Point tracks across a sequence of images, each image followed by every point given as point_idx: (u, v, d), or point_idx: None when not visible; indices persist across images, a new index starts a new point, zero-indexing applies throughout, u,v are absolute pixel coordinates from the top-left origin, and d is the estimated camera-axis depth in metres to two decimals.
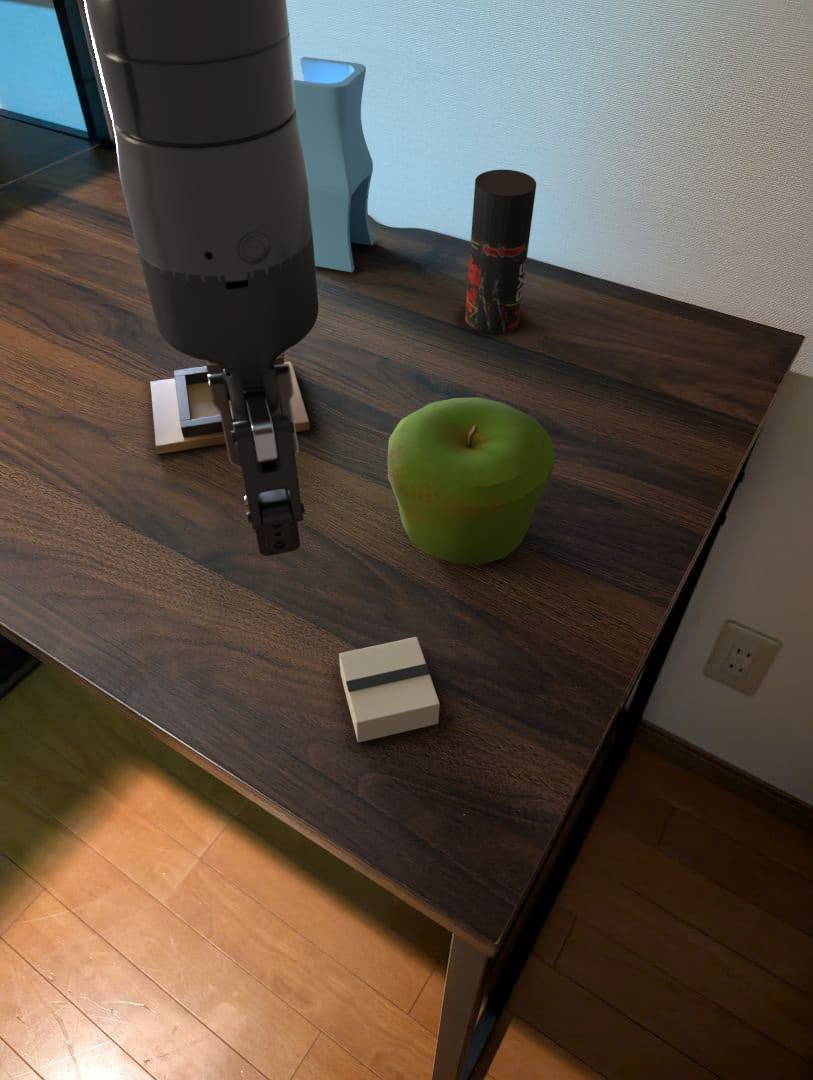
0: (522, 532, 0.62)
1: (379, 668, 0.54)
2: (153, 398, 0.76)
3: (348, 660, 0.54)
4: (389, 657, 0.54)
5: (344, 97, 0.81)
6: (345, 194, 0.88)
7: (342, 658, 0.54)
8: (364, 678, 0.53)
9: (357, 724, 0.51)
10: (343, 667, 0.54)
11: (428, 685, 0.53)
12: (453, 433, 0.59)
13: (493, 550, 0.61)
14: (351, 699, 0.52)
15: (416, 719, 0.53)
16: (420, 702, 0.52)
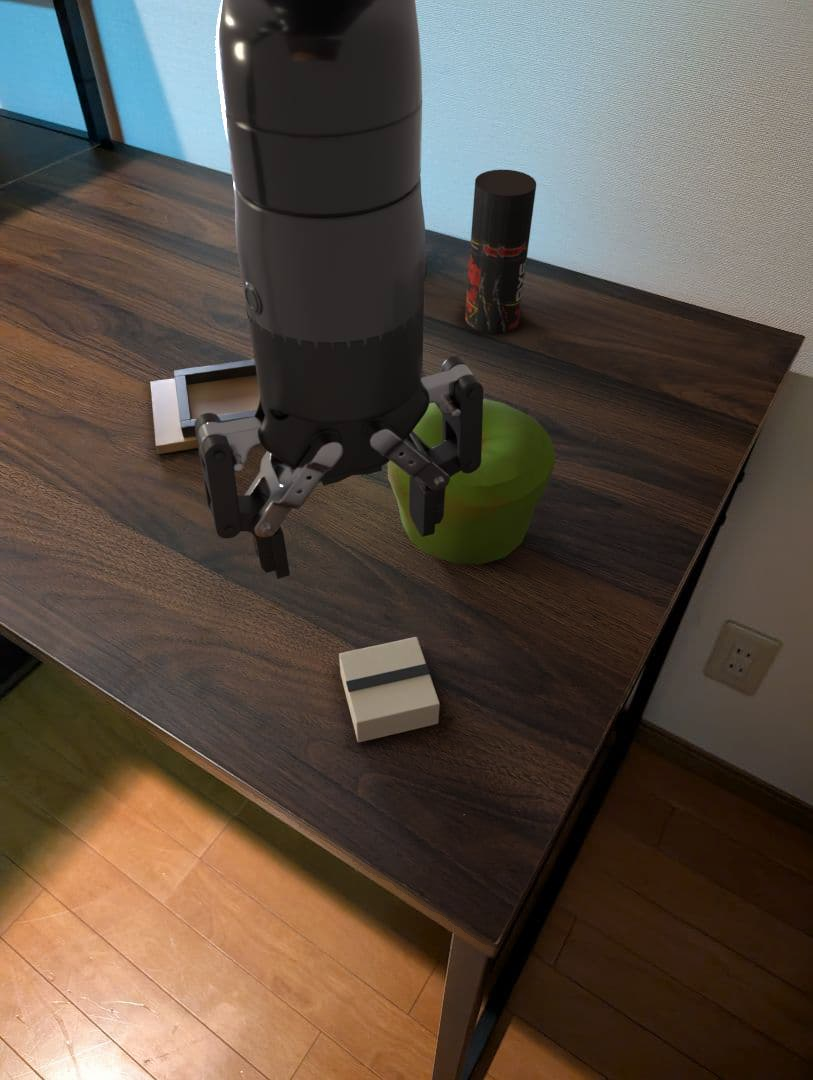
0: (522, 532, 0.62)
1: (379, 668, 0.54)
2: (153, 398, 0.76)
3: (348, 660, 0.54)
4: (389, 657, 0.54)
5: None
6: None
7: (342, 658, 0.54)
8: (364, 678, 0.53)
9: (357, 724, 0.51)
10: (343, 667, 0.54)
11: (428, 685, 0.53)
12: None
13: (493, 550, 0.61)
14: (351, 699, 0.52)
15: (416, 719, 0.53)
16: (420, 702, 0.52)
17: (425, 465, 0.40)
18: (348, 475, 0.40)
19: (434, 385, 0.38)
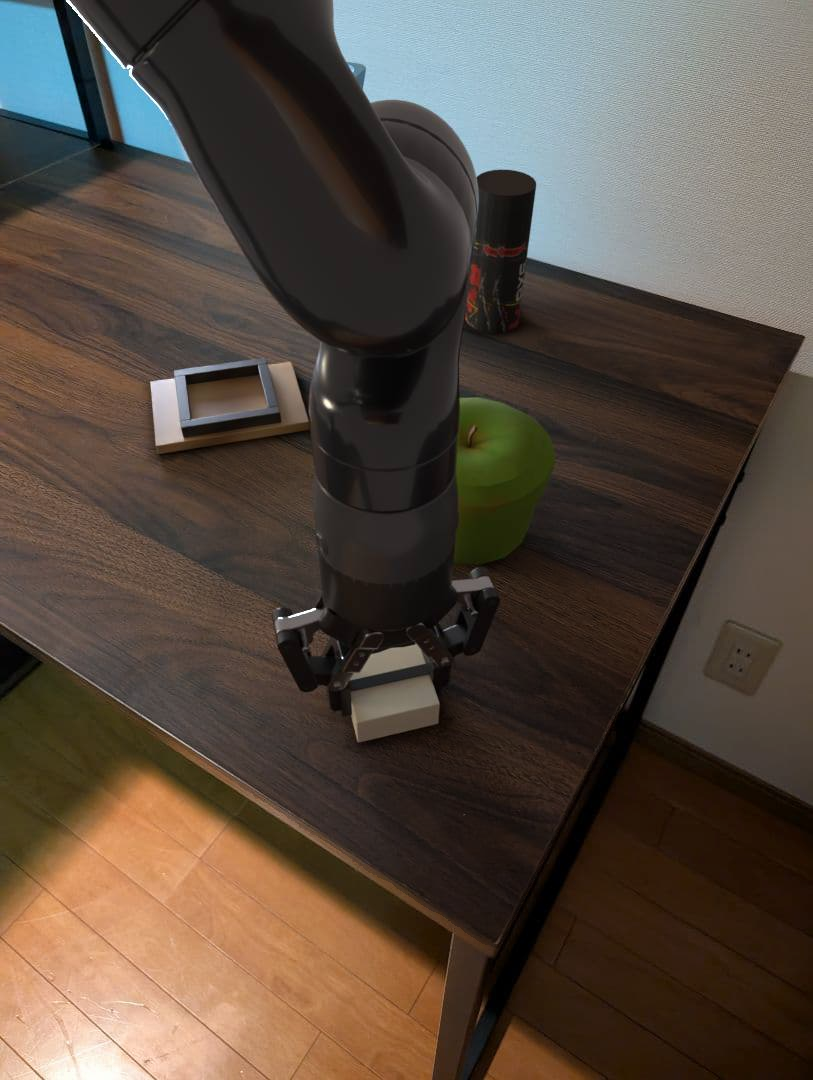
0: (522, 532, 0.62)
1: (379, 668, 0.54)
2: (153, 398, 0.76)
3: None
4: (390, 657, 0.54)
5: None
6: None
7: None
8: (364, 678, 0.53)
9: (357, 724, 0.51)
10: None
11: (428, 685, 0.53)
12: None
13: (493, 550, 0.61)
14: (351, 699, 0.52)
15: (416, 719, 0.53)
16: (420, 702, 0.52)
17: (440, 650, 0.49)
18: (387, 648, 0.49)
19: (463, 590, 0.48)
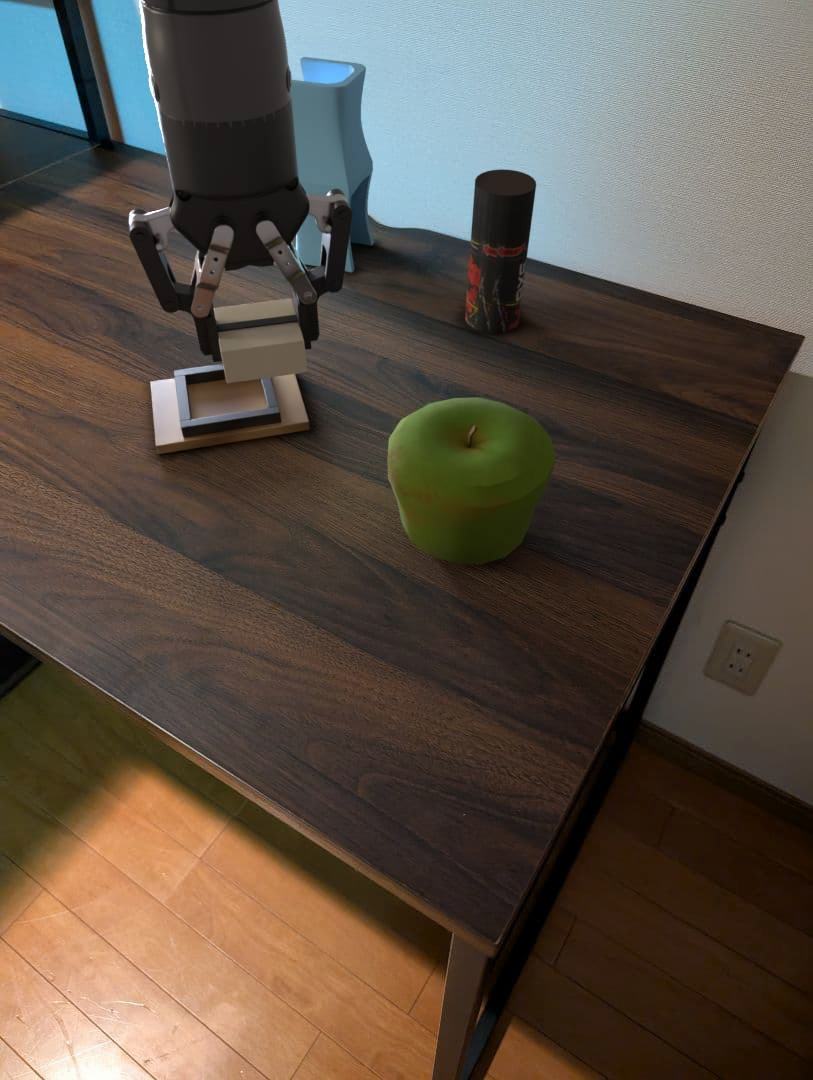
0: (522, 532, 0.62)
1: (250, 317, 0.56)
2: (153, 398, 0.76)
3: (222, 312, 0.56)
4: (262, 311, 0.56)
5: (344, 97, 0.81)
6: (345, 194, 0.88)
7: (216, 311, 0.56)
8: (234, 323, 0.55)
9: (221, 354, 0.53)
10: (215, 316, 0.56)
11: (295, 329, 0.55)
12: (453, 433, 0.59)
13: (493, 550, 0.61)
14: (219, 337, 0.54)
15: (283, 360, 0.54)
16: (285, 339, 0.54)
17: (297, 271, 0.51)
18: (245, 264, 0.51)
19: (315, 200, 0.49)
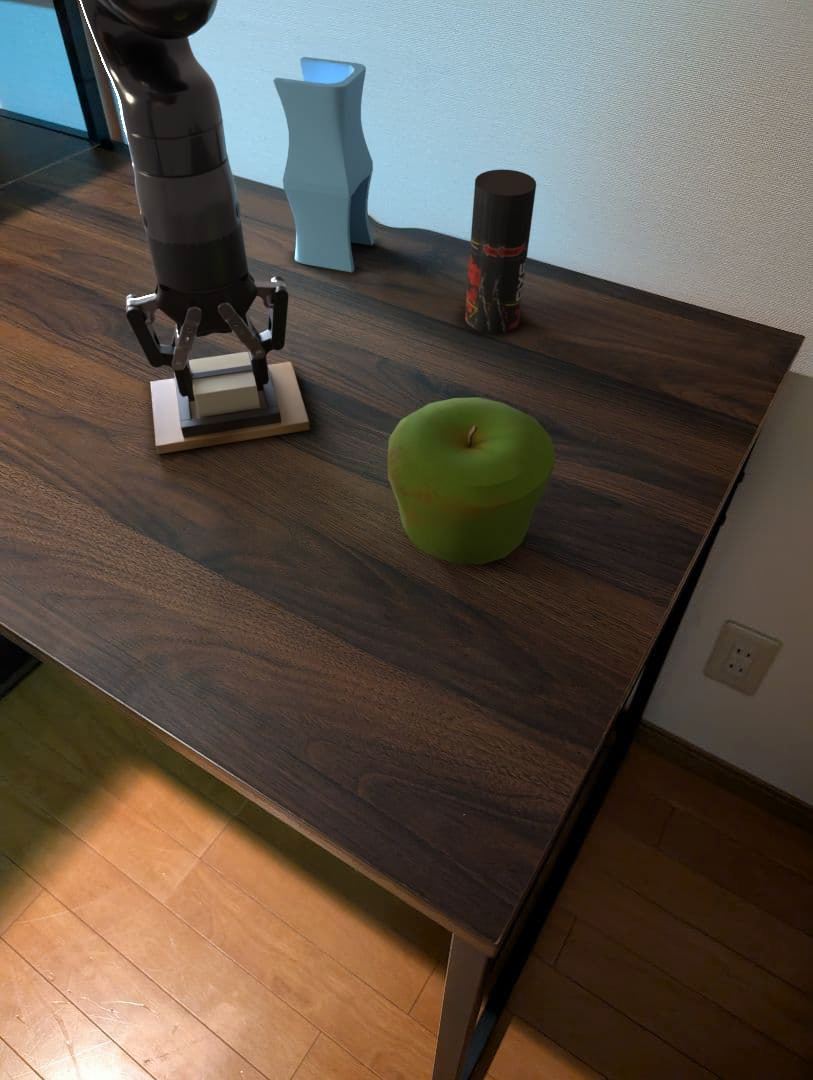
0: (522, 532, 0.62)
1: (216, 367, 0.74)
2: (153, 398, 0.76)
3: (195, 363, 0.74)
4: (225, 362, 0.75)
5: (344, 97, 0.81)
6: (345, 194, 0.88)
7: (191, 362, 0.75)
8: (204, 372, 0.73)
9: (195, 396, 0.71)
10: (190, 367, 0.74)
11: (250, 376, 0.73)
12: (453, 433, 0.59)
13: (493, 550, 0.61)
14: (193, 383, 0.72)
15: (241, 400, 0.73)
16: (242, 384, 0.72)
17: (249, 336, 0.70)
18: (211, 332, 0.69)
19: (261, 286, 0.68)
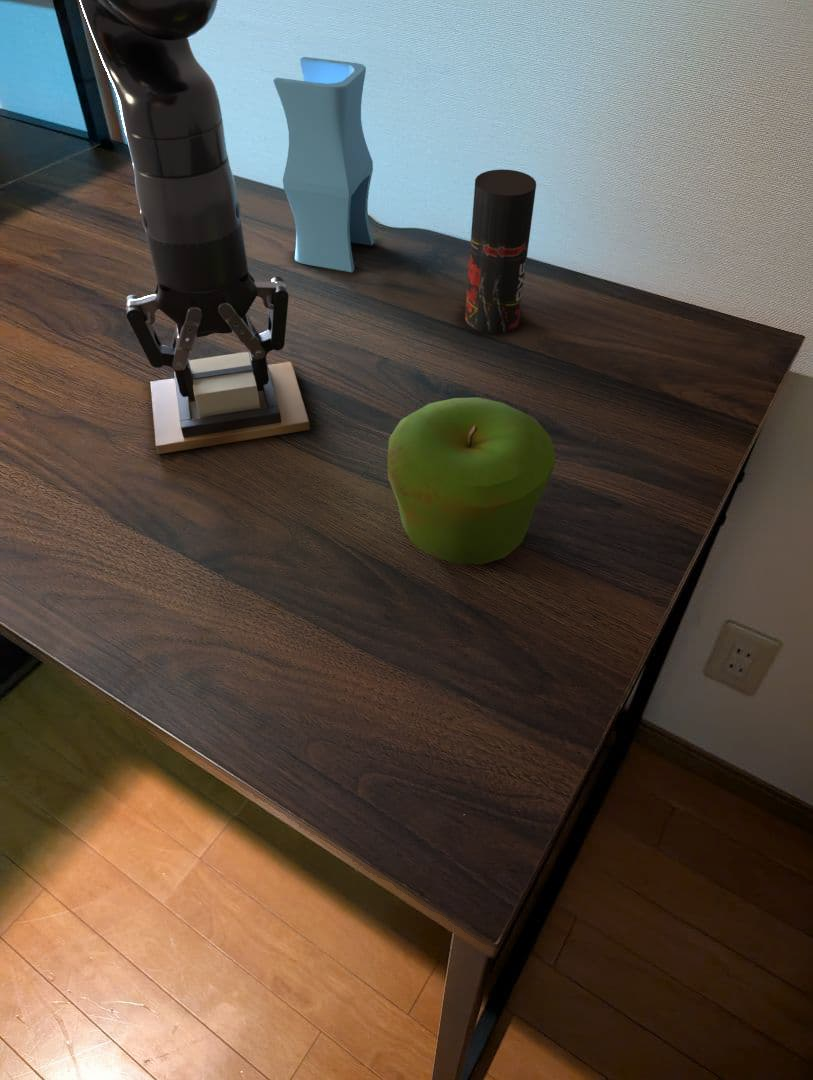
0: (522, 532, 0.62)
1: (216, 367, 0.74)
2: (153, 398, 0.76)
3: (195, 363, 0.75)
4: (226, 362, 0.75)
5: (344, 97, 0.81)
6: (345, 194, 0.88)
7: (191, 362, 0.75)
8: (204, 372, 0.73)
9: (195, 396, 0.71)
10: (191, 367, 0.74)
11: (250, 376, 0.73)
12: (453, 433, 0.59)
13: (493, 550, 0.61)
14: (193, 383, 0.73)
15: (241, 400, 0.73)
16: (243, 384, 0.72)
17: (249, 336, 0.70)
18: (211, 332, 0.69)
19: (261, 286, 0.68)
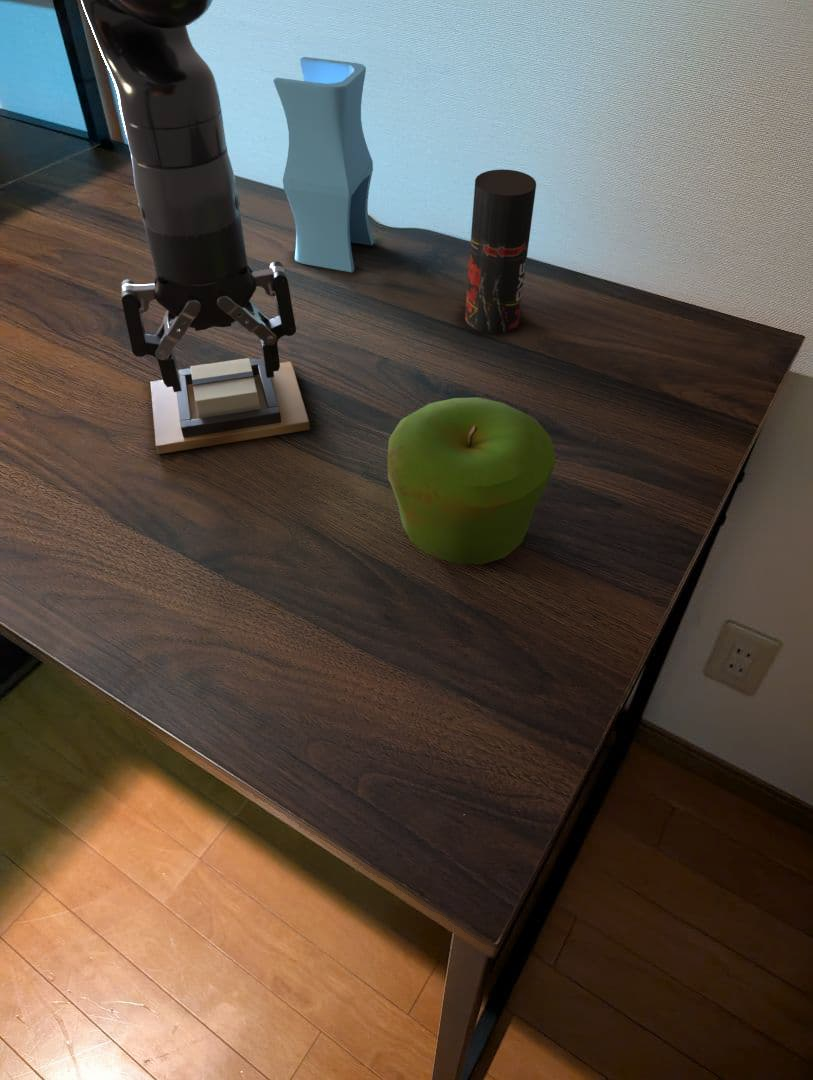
0: (522, 532, 0.62)
1: (217, 373, 0.75)
2: (153, 398, 0.76)
3: (196, 369, 0.75)
4: (226, 368, 0.75)
5: (344, 97, 0.81)
6: (345, 194, 0.88)
7: (192, 368, 0.75)
8: (205, 378, 0.74)
9: (196, 402, 0.72)
10: (192, 373, 0.75)
11: (251, 382, 0.74)
12: (453, 433, 0.59)
13: (493, 550, 0.61)
14: (194, 389, 0.73)
15: (242, 406, 0.73)
16: (243, 391, 0.73)
17: (256, 324, 0.69)
18: (210, 326, 0.69)
19: (259, 275, 0.67)
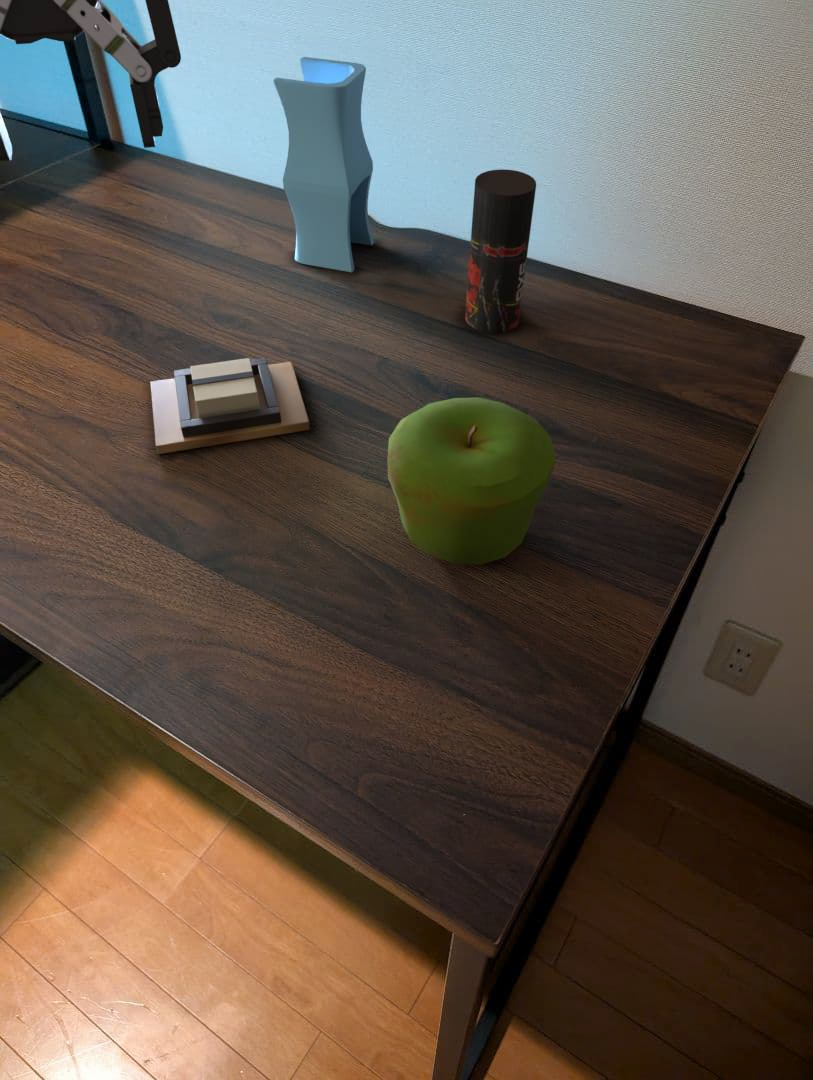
0: (522, 532, 0.62)
1: (217, 373, 0.75)
2: (153, 398, 0.76)
3: (196, 369, 0.75)
4: (226, 368, 0.75)
5: (344, 97, 0.81)
6: (345, 194, 0.88)
7: (192, 368, 0.75)
8: (205, 378, 0.74)
9: (196, 402, 0.72)
10: (192, 373, 0.75)
11: (251, 382, 0.74)
12: (453, 433, 0.59)
13: (493, 550, 0.61)
14: (194, 389, 0.73)
15: (242, 406, 0.73)
16: (243, 391, 0.73)
17: (112, 35, 0.44)
18: (40, 37, 0.44)
19: None
